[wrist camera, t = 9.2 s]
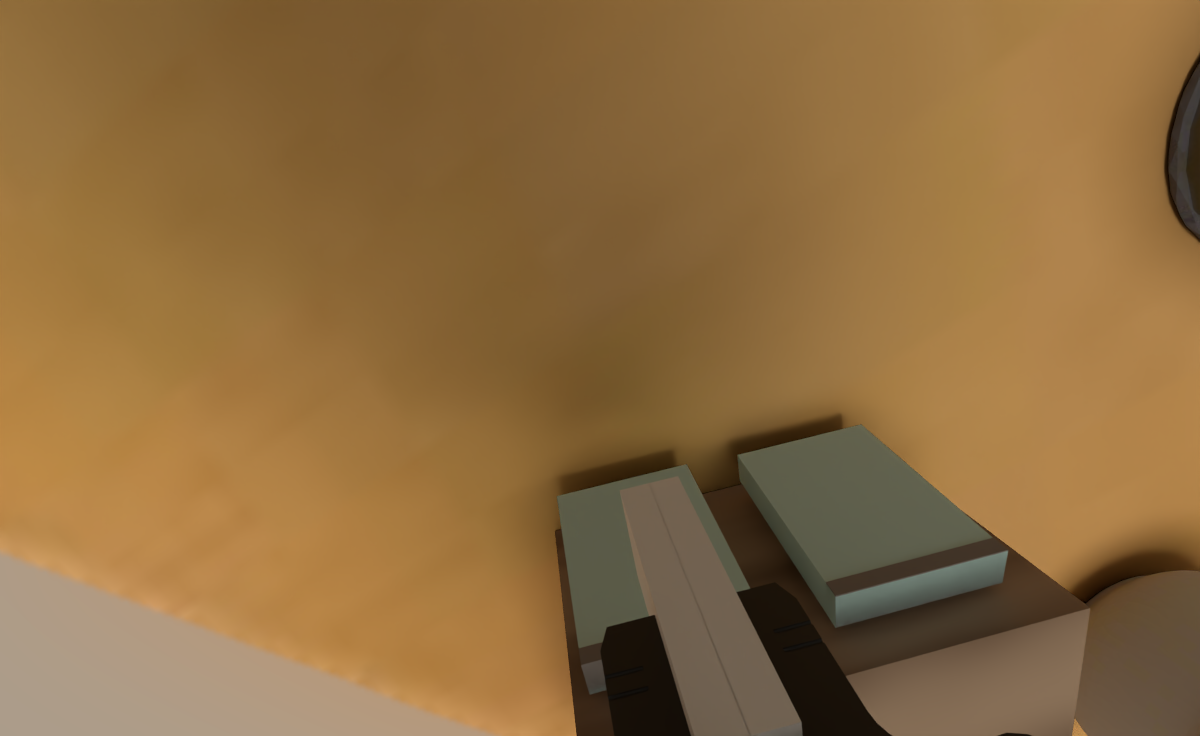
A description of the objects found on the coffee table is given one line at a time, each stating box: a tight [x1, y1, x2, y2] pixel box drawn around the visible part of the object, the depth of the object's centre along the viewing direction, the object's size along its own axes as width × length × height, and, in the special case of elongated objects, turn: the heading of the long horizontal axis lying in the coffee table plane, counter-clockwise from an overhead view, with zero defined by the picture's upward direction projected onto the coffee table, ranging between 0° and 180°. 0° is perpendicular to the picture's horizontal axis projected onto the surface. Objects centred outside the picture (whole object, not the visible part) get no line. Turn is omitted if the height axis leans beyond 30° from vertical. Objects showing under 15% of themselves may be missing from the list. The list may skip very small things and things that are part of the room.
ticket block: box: [555, 484, 1090, 736], centre depth 21 cm, size 10×14×9 cm
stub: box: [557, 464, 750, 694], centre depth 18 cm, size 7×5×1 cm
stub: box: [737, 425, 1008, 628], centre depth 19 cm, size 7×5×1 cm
